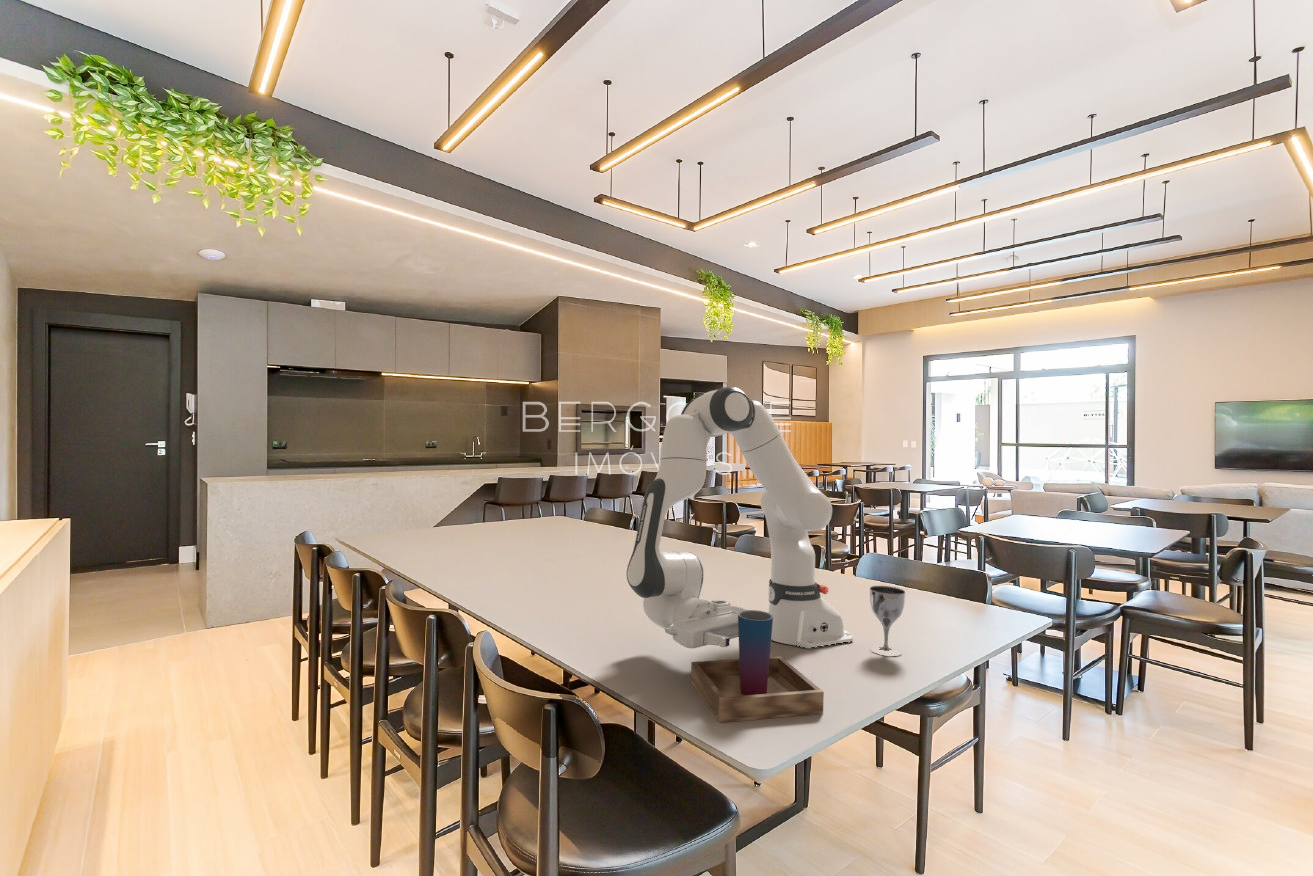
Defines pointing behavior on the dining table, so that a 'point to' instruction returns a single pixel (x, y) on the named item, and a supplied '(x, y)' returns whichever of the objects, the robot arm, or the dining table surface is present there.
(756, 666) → the cup
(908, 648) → the dining table surface
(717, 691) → the tray
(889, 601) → the wine glass
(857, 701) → the dining table surface
